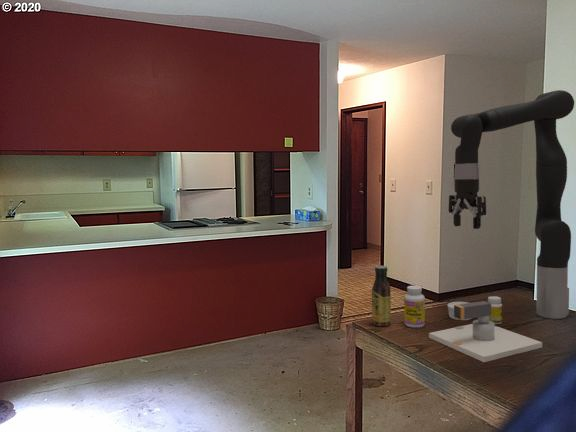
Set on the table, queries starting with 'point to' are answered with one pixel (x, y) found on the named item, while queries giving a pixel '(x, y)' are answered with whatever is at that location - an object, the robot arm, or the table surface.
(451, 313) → the ramekin
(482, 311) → the handle
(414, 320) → the supplement bottle
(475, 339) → the base
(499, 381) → the table surface
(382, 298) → the sauce bottle
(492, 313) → the supplement bottle
